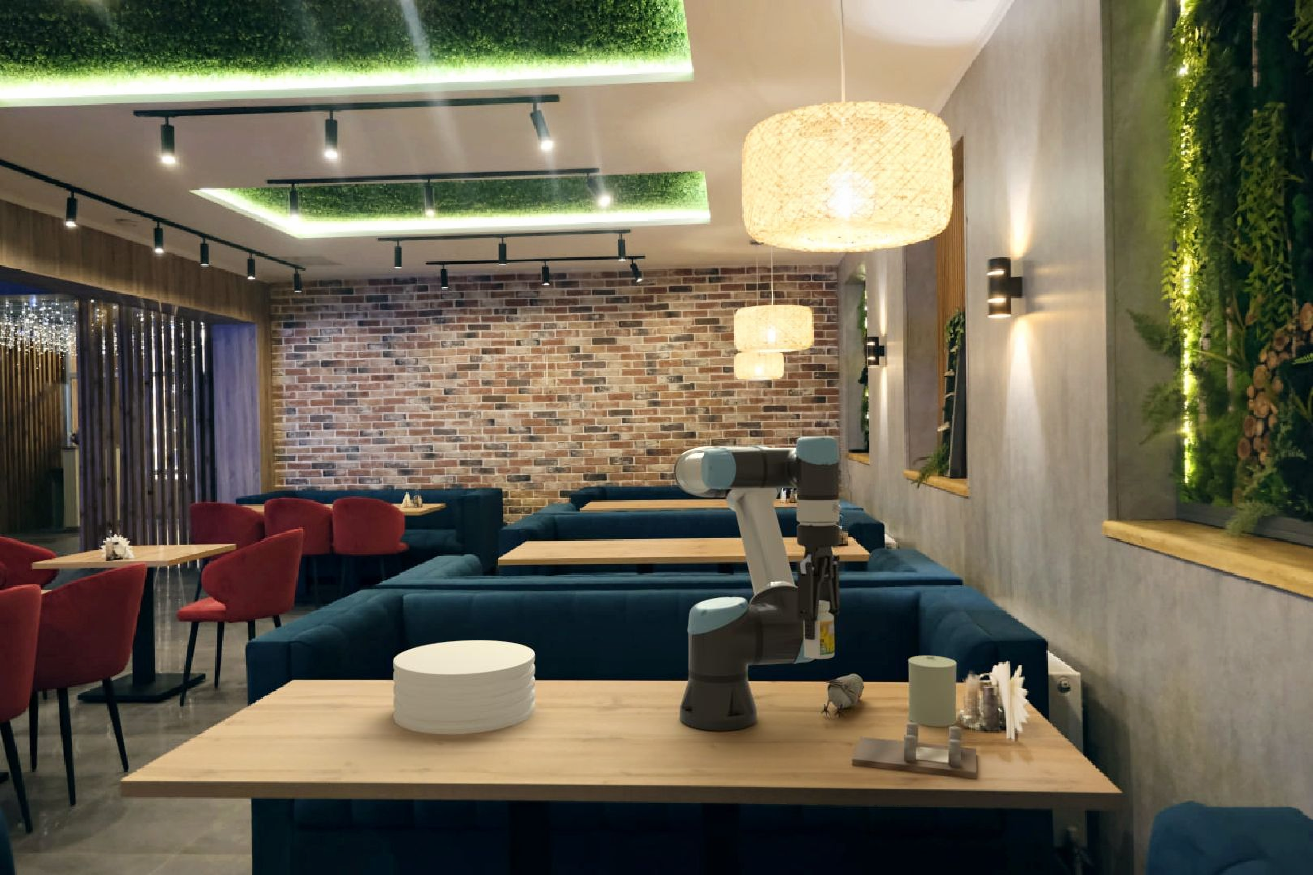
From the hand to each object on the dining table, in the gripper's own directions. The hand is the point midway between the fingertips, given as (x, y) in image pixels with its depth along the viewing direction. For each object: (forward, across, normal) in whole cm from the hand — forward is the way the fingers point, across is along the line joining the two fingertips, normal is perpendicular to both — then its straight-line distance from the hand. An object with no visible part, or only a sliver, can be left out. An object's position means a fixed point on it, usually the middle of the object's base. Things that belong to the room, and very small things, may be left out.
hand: (819, 654), depth 166 cm
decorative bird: (+17, +27, +6) cm, 32 cm away
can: (+17, +29, -11) cm, 35 cm away
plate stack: (+17, -18, +70) cm, 74 cm away
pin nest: (+17, +5, -15) cm, 24 cm away
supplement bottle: (0, 0, 0) cm, 1 cm away
